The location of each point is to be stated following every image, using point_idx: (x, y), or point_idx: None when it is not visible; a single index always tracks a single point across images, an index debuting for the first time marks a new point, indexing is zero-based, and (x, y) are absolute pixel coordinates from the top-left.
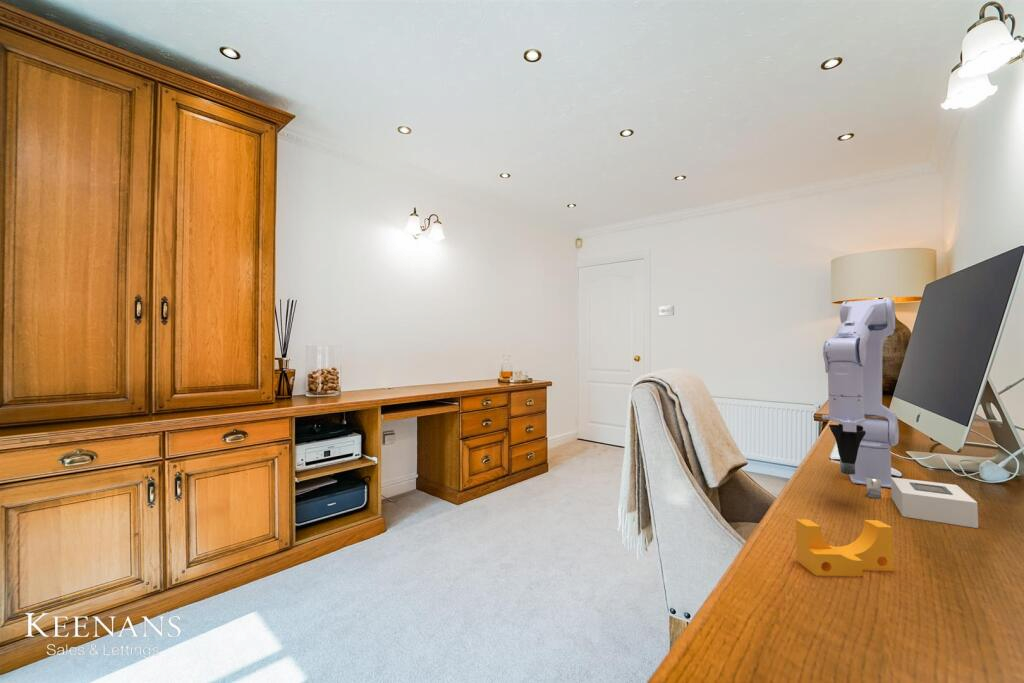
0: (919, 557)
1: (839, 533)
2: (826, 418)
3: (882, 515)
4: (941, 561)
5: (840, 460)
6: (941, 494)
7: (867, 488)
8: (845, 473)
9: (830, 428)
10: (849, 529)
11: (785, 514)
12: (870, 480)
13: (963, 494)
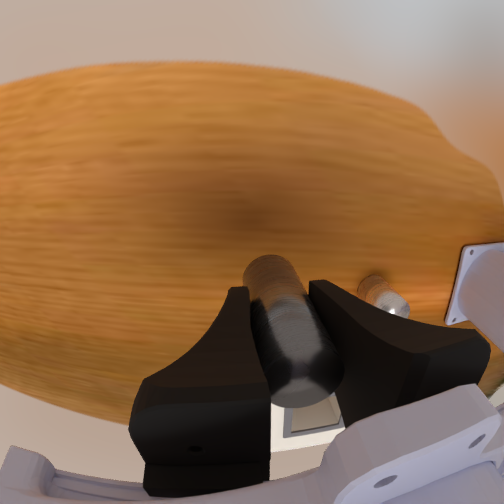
0: (12, 328)
1: (12, 220)
2: (324, 469)
3: (209, 302)
4: (23, 349)
5: (270, 281)
6: (273, 426)
7: (378, 287)
8: (244, 273)
9: (175, 399)
10: (46, 236)
11: (55, 95)
12: (382, 308)
13: (298, 444)
